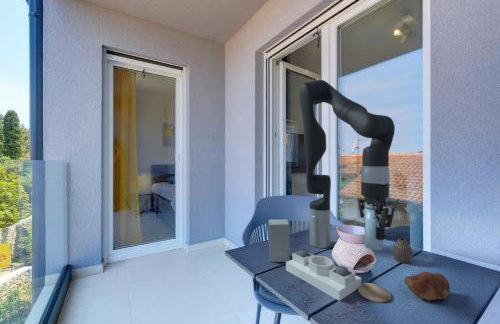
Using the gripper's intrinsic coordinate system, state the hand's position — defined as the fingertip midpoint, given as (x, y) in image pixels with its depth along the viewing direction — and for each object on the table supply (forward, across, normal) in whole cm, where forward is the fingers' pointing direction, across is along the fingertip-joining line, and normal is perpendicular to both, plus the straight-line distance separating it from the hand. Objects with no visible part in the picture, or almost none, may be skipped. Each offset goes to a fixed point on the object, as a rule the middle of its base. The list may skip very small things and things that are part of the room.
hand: (374, 236), depth 70 cm
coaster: (+18, 0, 0) cm, 18 cm away
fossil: (+18, +3, +16) cm, 24 cm away
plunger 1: (+14, -17, -17) cm, 28 cm away
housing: (+18, -10, -13) cm, 24 cm away
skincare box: (+18, -25, -24) cm, 39 cm away
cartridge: (+3, 0, 0) cm, 3 cm away
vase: (+18, -19, +25) cm, 36 cm away
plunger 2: (+14, -3, -9) cm, 17 cm away
